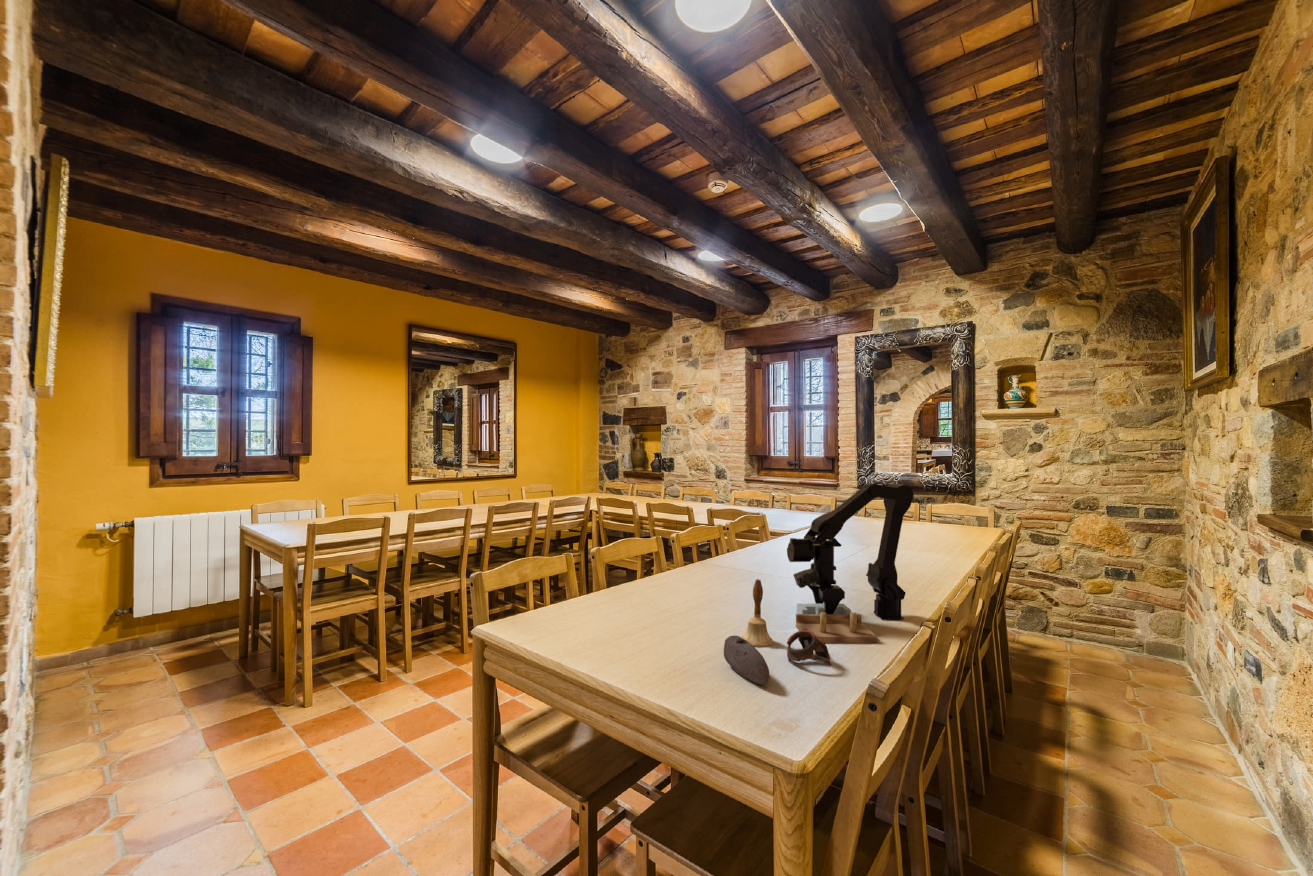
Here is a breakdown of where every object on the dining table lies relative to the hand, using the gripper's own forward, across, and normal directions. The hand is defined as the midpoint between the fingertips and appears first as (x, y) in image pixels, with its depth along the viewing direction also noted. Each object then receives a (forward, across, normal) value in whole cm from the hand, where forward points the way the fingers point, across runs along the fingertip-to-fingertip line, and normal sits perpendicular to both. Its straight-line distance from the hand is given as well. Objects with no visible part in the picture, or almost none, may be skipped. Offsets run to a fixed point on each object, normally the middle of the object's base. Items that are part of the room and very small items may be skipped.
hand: (823, 614), depth 157 cm
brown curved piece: (+2, +30, -13) cm, 33 cm away
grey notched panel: (+1, 0, 0) cm, 1 cm away
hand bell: (+1, +18, -23) cm, 29 cm away
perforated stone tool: (+2, +39, -29) cm, 49 cm away
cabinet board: (+1, +13, -1) cm, 13 cm away
